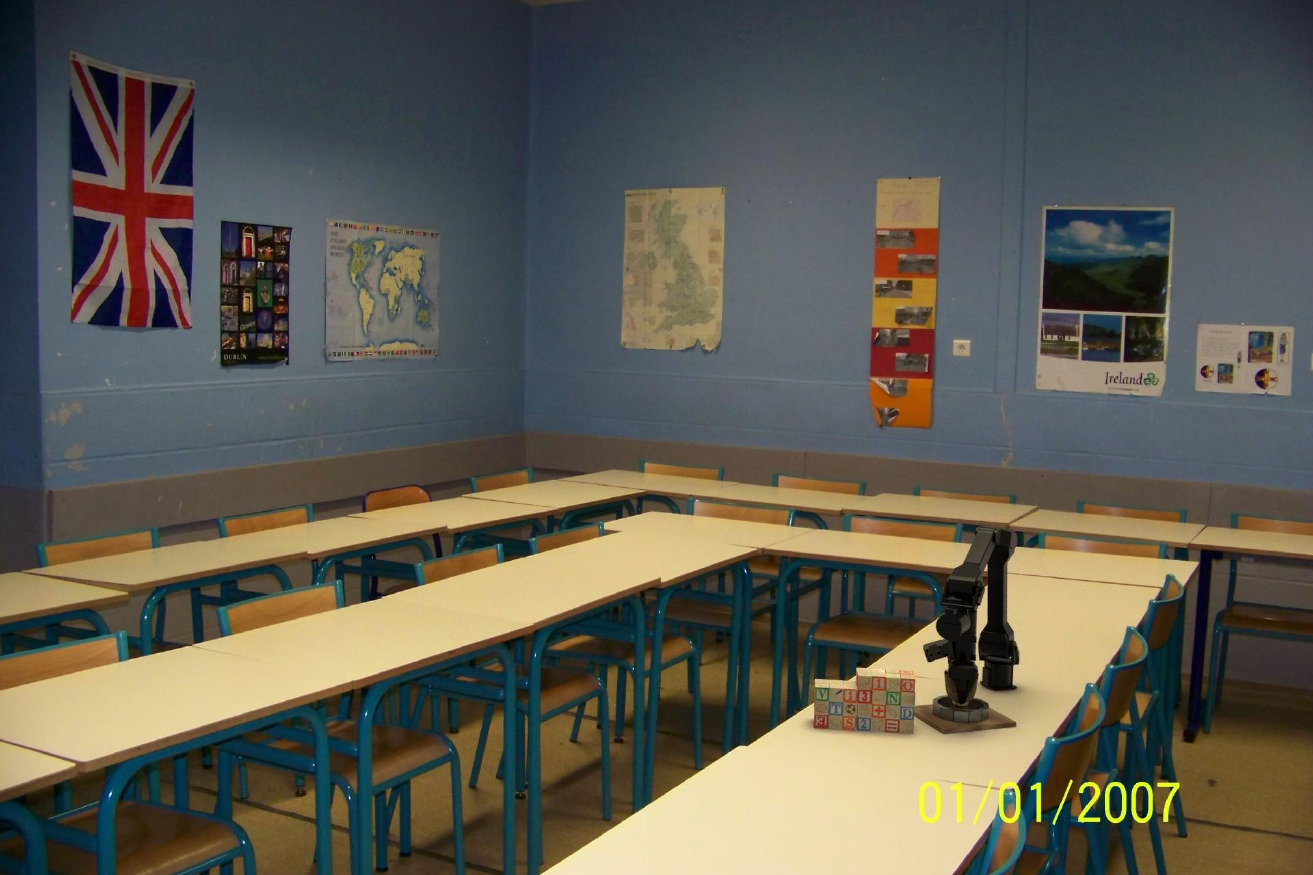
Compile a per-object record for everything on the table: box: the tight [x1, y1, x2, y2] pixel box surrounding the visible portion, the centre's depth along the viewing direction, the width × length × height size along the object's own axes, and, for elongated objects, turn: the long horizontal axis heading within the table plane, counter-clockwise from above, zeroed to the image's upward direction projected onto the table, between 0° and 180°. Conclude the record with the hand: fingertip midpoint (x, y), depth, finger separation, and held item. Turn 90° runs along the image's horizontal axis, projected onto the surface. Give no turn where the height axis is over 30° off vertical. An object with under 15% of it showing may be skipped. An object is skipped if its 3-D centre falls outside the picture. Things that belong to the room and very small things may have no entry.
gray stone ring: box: [932, 694, 990, 723], centre depth 262 cm, size 12×12×2 cm
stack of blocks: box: [813, 667, 916, 735], centre depth 256 cm, size 21×6×12 cm, turn 82°
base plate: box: [914, 703, 1017, 735], centre depth 263 cm, size 18×16×1 cm
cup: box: [943, 669, 980, 709], centre depth 262 cm, size 8×7×8 cm
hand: (960, 699), depth 262 cm, fingers closed on cup, 6 cm apart
